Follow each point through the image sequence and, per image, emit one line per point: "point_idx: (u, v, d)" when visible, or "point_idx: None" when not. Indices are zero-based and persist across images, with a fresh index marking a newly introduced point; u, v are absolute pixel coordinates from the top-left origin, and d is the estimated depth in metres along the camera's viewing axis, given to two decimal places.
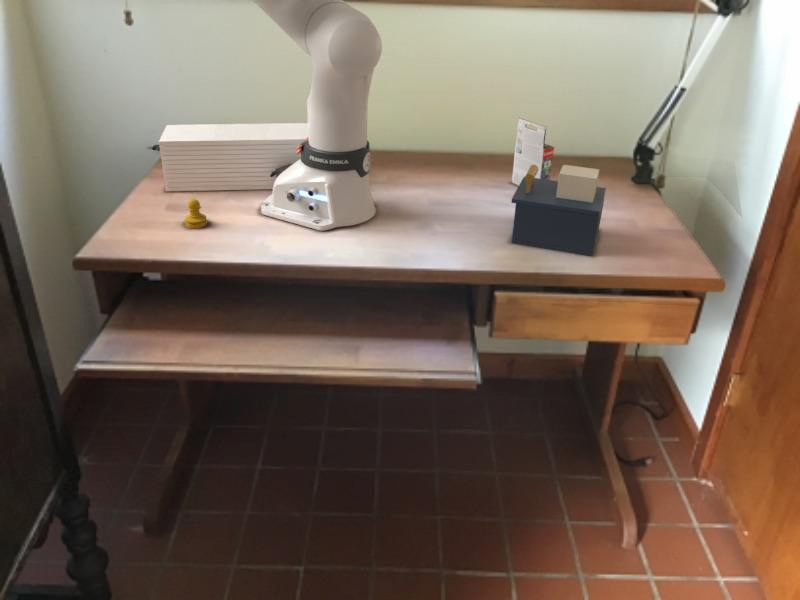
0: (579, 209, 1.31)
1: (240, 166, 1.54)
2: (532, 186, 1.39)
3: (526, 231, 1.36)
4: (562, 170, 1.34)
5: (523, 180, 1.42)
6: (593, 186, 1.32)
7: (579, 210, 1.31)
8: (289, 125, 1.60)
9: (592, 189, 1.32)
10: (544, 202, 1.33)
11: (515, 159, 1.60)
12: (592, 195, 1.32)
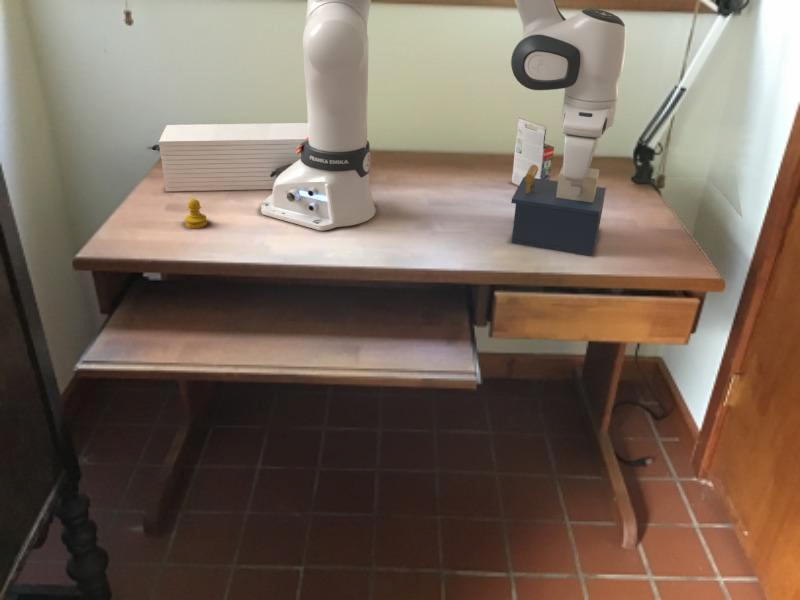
0: (579, 209, 1.31)
1: (240, 166, 1.54)
2: (532, 186, 1.39)
3: (526, 231, 1.36)
4: (562, 170, 1.34)
5: (523, 180, 1.42)
6: (593, 186, 1.32)
7: (579, 210, 1.31)
8: (289, 125, 1.60)
9: (592, 189, 1.32)
10: (544, 202, 1.33)
11: (515, 159, 1.60)
12: (592, 195, 1.32)
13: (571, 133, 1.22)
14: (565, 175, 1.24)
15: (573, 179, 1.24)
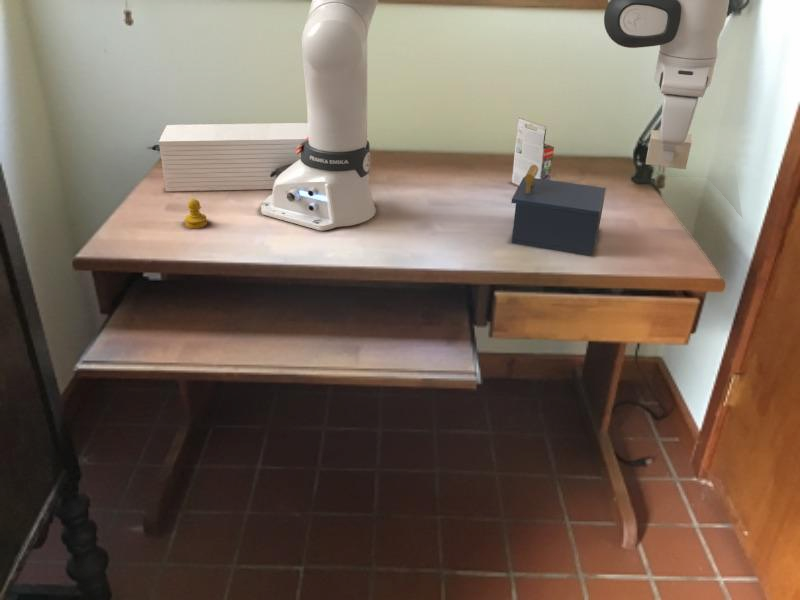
0: (579, 209, 1.31)
1: (240, 166, 1.54)
2: (532, 186, 1.39)
3: (526, 231, 1.36)
4: (652, 135, 1.26)
5: (523, 180, 1.42)
6: (687, 151, 1.24)
7: (579, 210, 1.31)
8: (289, 125, 1.60)
9: (686, 154, 1.25)
10: (544, 202, 1.33)
11: (515, 159, 1.60)
12: (685, 161, 1.25)
13: (671, 92, 1.15)
14: (662, 137, 1.17)
15: (671, 142, 1.17)
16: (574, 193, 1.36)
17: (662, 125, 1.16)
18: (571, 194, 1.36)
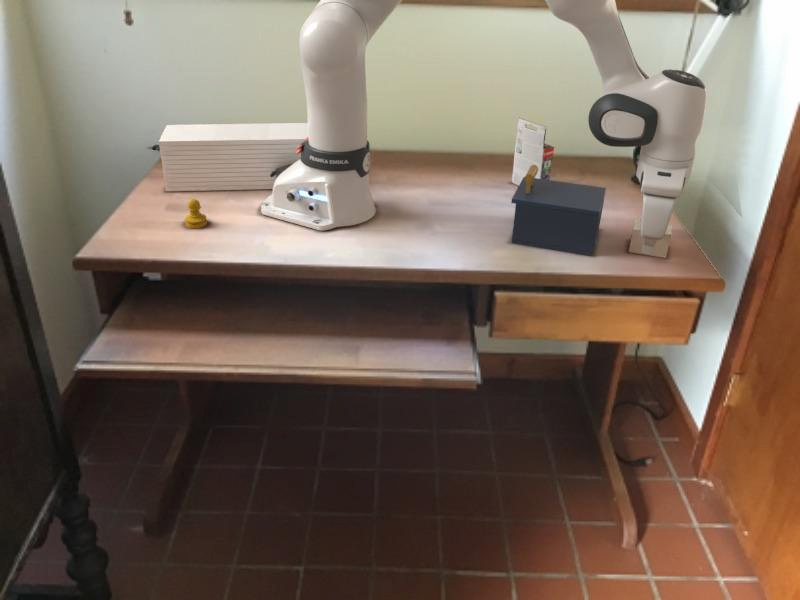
0: (579, 209, 1.31)
1: (240, 166, 1.54)
2: (532, 186, 1.39)
3: (526, 231, 1.36)
4: (635, 225, 1.35)
5: (523, 180, 1.42)
6: (667, 242, 1.33)
7: (579, 210, 1.31)
8: (289, 125, 1.60)
9: (666, 245, 1.33)
10: (544, 202, 1.33)
11: (515, 159, 1.60)
12: (666, 251, 1.34)
13: (650, 193, 1.23)
14: (643, 233, 1.25)
15: (651, 237, 1.25)
16: (574, 193, 1.36)
17: (642, 222, 1.25)
18: (571, 194, 1.36)
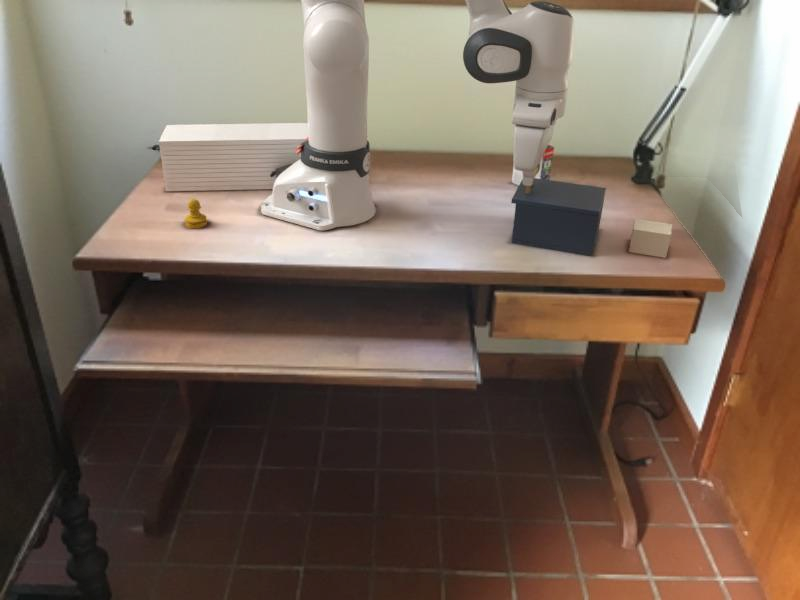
0: (579, 209, 1.31)
1: (240, 166, 1.54)
2: (532, 186, 1.39)
3: (526, 231, 1.36)
4: (635, 225, 1.35)
5: None
6: (667, 242, 1.33)
7: (579, 210, 1.31)
8: (289, 125, 1.60)
9: (666, 245, 1.33)
10: (544, 202, 1.33)
11: None
12: (666, 251, 1.34)
13: (520, 123, 1.24)
14: (515, 164, 1.26)
15: (523, 169, 1.26)
16: (574, 193, 1.36)
17: (514, 153, 1.26)
18: (571, 194, 1.36)
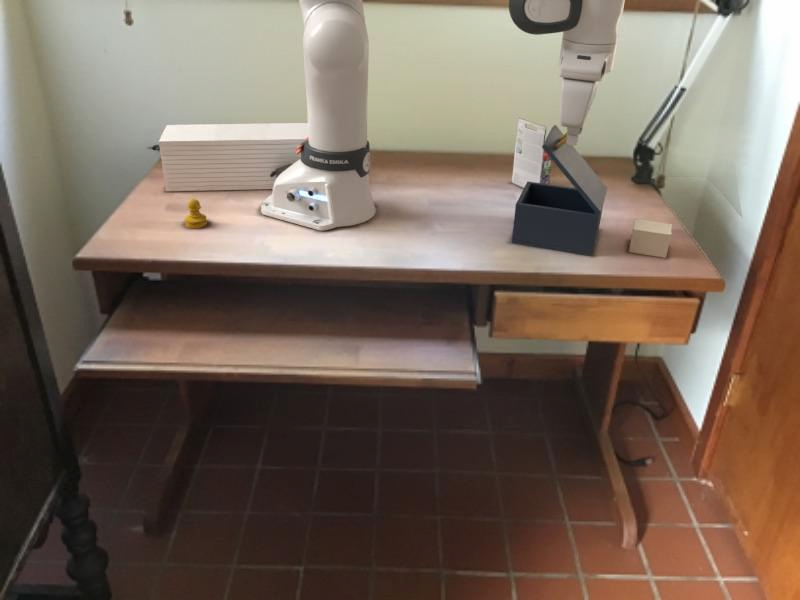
0: (588, 197, 1.29)
1: (240, 166, 1.54)
2: (560, 142, 1.33)
3: (526, 231, 1.36)
4: (635, 225, 1.35)
5: (555, 129, 1.35)
6: (667, 242, 1.33)
7: (587, 198, 1.29)
8: (289, 125, 1.60)
9: (666, 245, 1.33)
10: (566, 168, 1.29)
11: (515, 159, 1.60)
12: (666, 251, 1.34)
13: (569, 76, 1.18)
14: (562, 120, 1.20)
15: (570, 125, 1.20)
16: (587, 177, 1.34)
17: (561, 108, 1.19)
18: (585, 175, 1.34)
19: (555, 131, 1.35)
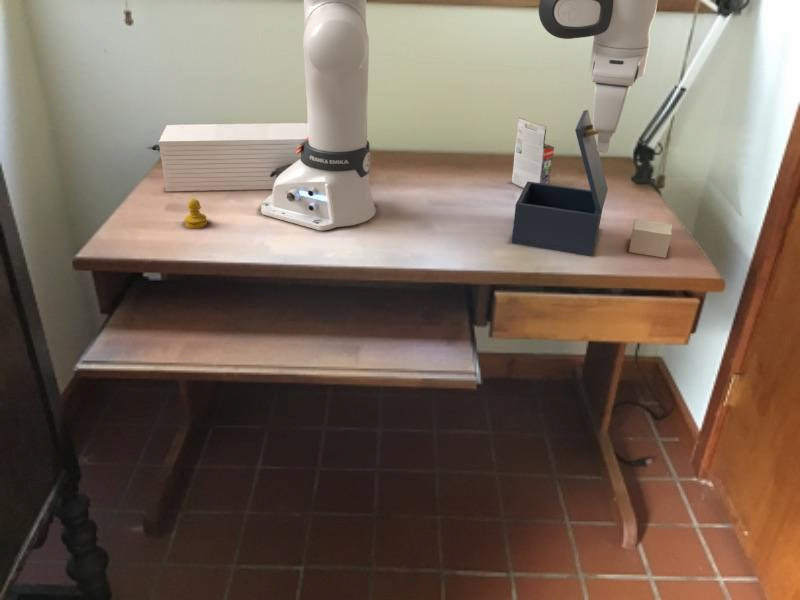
0: (596, 195, 1.29)
1: (240, 166, 1.54)
2: (588, 130, 1.31)
3: (526, 231, 1.36)
4: (635, 225, 1.35)
5: (587, 114, 1.32)
6: (667, 242, 1.33)
7: (595, 195, 1.29)
8: (289, 125, 1.60)
9: (666, 245, 1.33)
10: (588, 160, 1.27)
11: (515, 159, 1.60)
12: (666, 251, 1.34)
13: (601, 81, 1.17)
14: (594, 126, 1.19)
15: (603, 130, 1.19)
16: (598, 172, 1.33)
17: (594, 114, 1.18)
18: (597, 171, 1.33)
19: (587, 117, 1.32)
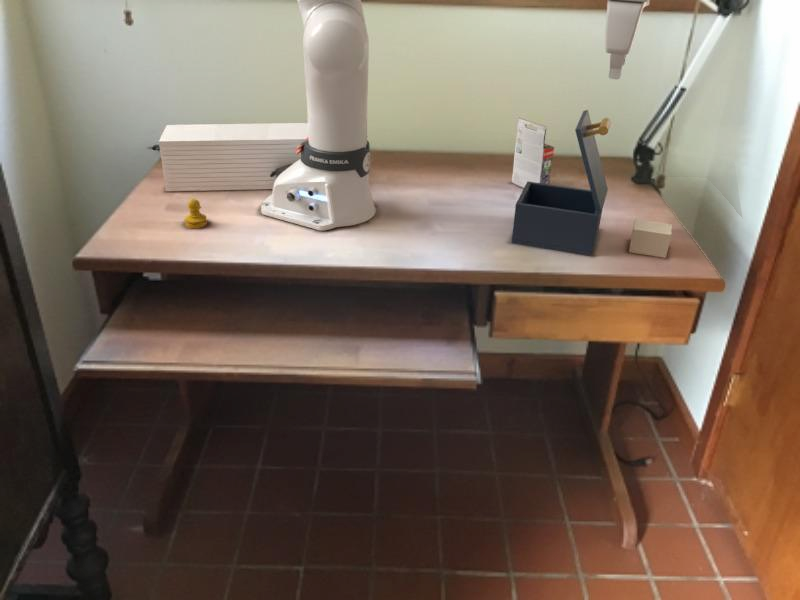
0: (596, 195, 1.29)
1: (240, 166, 1.54)
2: (588, 130, 1.31)
3: (526, 231, 1.36)
4: (635, 225, 1.35)
5: (587, 114, 1.32)
6: (667, 242, 1.33)
7: (595, 195, 1.29)
8: (289, 125, 1.60)
9: (666, 245, 1.33)
10: (588, 160, 1.27)
11: (515, 159, 1.60)
12: (666, 251, 1.34)
13: None
14: (607, 46, 1.13)
15: (616, 51, 1.13)
16: (598, 172, 1.33)
17: (606, 33, 1.12)
18: (597, 171, 1.33)
19: (587, 117, 1.32)
